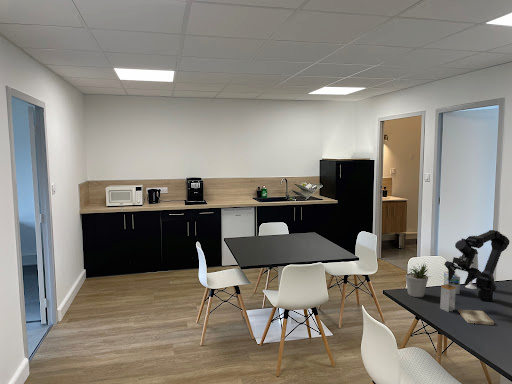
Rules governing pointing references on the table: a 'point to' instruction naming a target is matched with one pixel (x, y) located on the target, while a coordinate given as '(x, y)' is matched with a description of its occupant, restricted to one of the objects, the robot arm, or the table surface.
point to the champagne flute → (474, 265)
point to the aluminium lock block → (447, 297)
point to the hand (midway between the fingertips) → (456, 283)
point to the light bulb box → (452, 281)
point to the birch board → (476, 317)
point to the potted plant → (417, 281)
